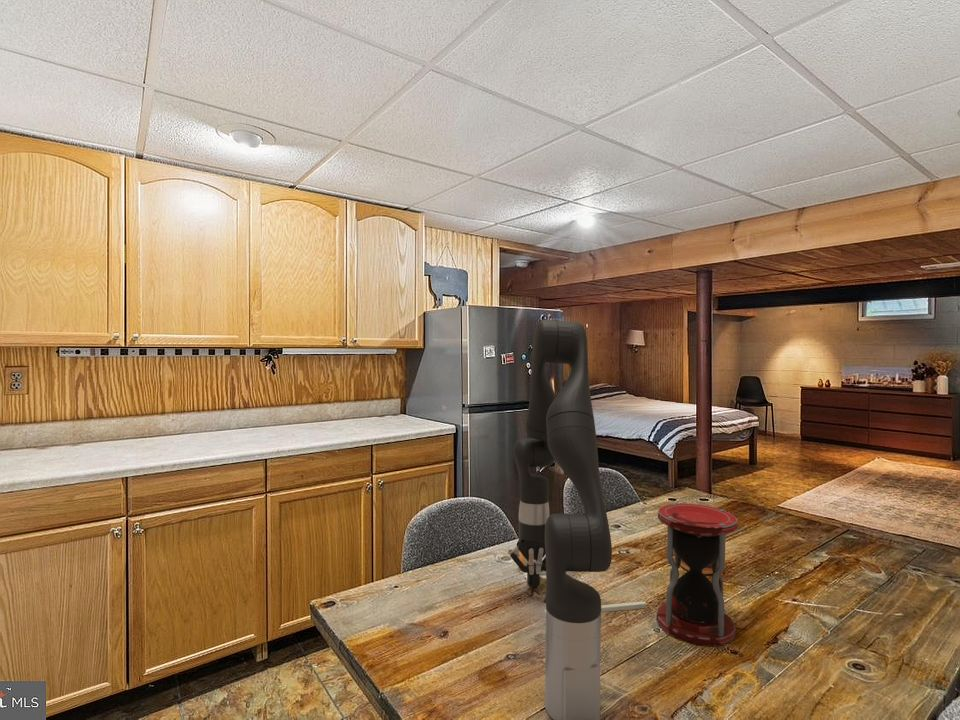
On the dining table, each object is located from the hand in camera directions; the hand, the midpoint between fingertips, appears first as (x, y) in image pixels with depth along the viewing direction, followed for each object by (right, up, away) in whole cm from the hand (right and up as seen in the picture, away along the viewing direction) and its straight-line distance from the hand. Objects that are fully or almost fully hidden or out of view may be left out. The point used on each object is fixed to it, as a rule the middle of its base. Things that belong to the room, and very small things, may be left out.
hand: (533, 587), depth 128 cm
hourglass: (+34, -3, -14) cm, 37 cm away
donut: (+48, -2, +15) cm, 50 cm away
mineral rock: (+2, -3, +1) cm, 3 cm away
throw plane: (+12, -2, +2) cm, 12 cm away
